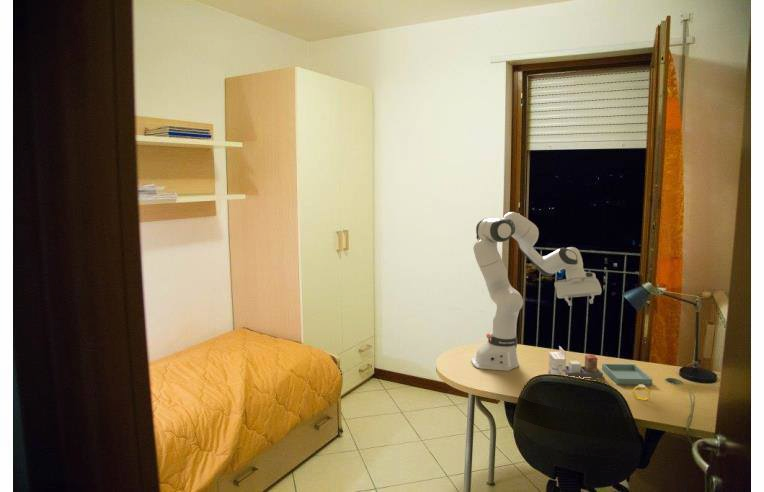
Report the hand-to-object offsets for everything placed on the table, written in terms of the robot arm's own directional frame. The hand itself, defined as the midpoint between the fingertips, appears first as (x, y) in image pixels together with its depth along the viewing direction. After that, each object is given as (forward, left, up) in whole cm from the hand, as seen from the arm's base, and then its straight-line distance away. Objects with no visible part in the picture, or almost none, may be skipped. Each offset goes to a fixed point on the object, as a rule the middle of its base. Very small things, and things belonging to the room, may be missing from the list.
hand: (580, 304), depth 224 cm
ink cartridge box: (-15, -18, -30) cm, 39 cm away
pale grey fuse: (-6, -12, -30) cm, 33 cm away
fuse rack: (-2, -12, -30) cm, 33 cm away
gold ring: (+14, -35, -30) cm, 48 cm away
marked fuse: (+2, -12, -30) cm, 33 cm away
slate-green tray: (+17, -14, -30) cm, 37 cm away
